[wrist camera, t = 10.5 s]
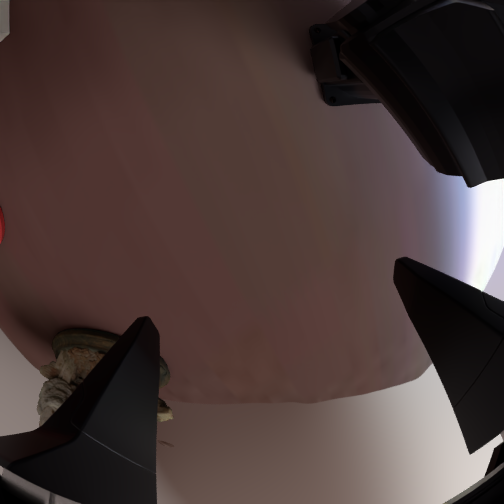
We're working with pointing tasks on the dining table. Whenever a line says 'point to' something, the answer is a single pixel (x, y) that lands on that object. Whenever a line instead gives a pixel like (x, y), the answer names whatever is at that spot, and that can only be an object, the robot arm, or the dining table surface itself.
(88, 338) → the khaki lumpy piece
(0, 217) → the red tapered cylinder
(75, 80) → the dining table surface
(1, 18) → the outline
